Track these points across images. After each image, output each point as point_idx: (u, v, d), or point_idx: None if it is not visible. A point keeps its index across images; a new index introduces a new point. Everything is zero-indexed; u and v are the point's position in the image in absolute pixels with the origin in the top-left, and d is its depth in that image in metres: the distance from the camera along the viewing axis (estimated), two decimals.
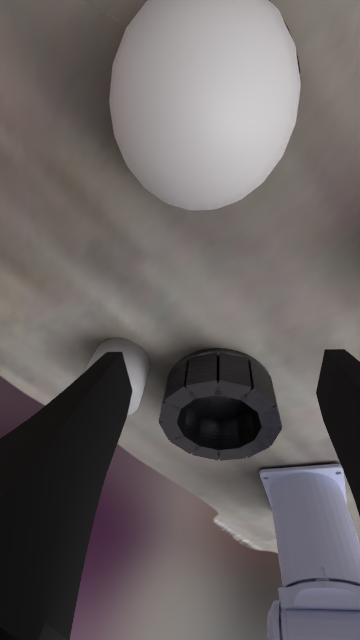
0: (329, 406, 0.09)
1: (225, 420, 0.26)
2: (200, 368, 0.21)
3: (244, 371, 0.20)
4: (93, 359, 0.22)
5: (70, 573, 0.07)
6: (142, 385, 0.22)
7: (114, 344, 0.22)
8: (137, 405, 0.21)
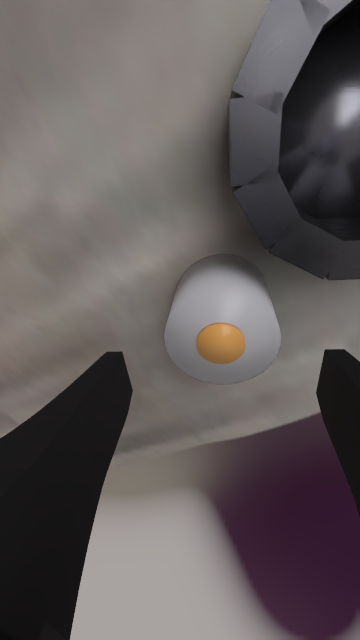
0: (329, 406, 0.09)
1: None
2: (229, 148, 0.10)
3: None
4: None
5: (70, 573, 0.07)
6: (232, 279, 0.12)
7: None
8: (256, 302, 0.11)
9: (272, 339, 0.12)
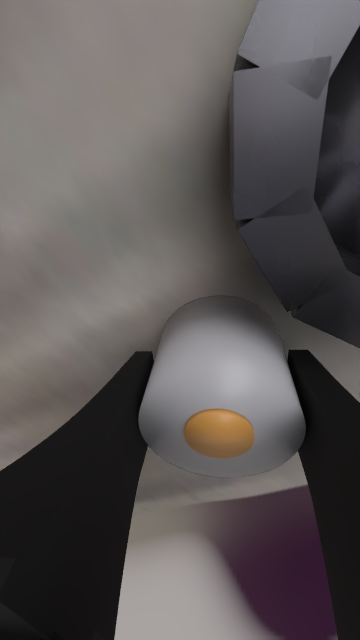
0: None
1: None
2: (231, 157, 0.06)
3: None
4: None
5: (113, 578, 0.07)
6: (235, 344, 0.08)
7: None
8: (271, 386, 0.07)
9: (293, 431, 0.08)
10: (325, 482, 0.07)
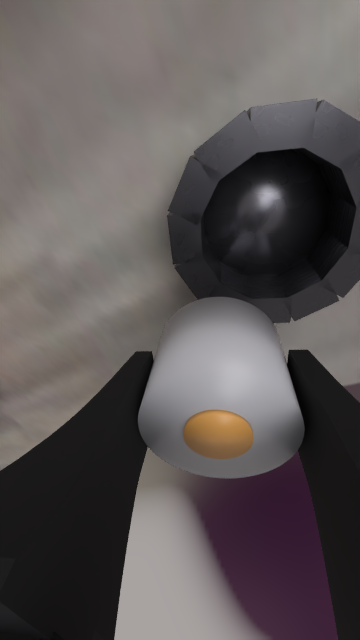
0: None
1: (328, 218, 0.14)
2: None
3: None
4: None
5: (113, 578, 0.07)
6: (235, 346, 0.08)
7: None
8: (270, 388, 0.07)
9: (292, 432, 0.08)
10: (325, 482, 0.07)
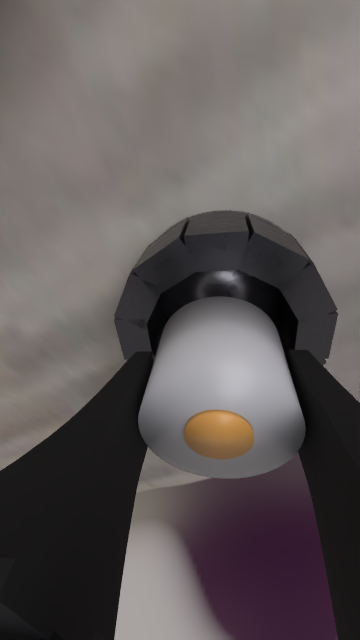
0: None
1: (282, 308, 0.14)
2: None
3: None
4: None
5: (113, 578, 0.07)
6: (236, 345, 0.08)
7: None
8: (272, 388, 0.07)
9: (293, 433, 0.08)
10: (325, 482, 0.07)
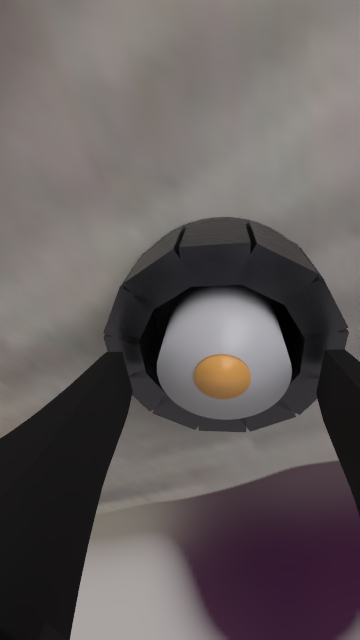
0: (329, 406, 0.09)
1: (286, 321, 0.13)
2: None
3: None
4: None
5: (70, 573, 0.07)
6: (236, 303, 0.10)
7: None
8: (264, 333, 0.09)
9: (281, 373, 0.10)
10: None
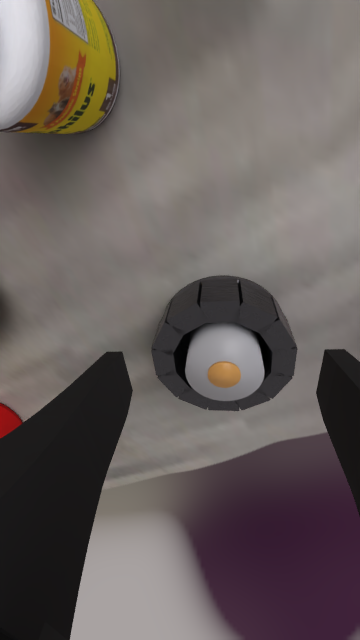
0: (329, 406, 0.09)
1: None
2: None
3: (165, 314, 0.19)
4: None
5: (70, 573, 0.07)
6: (232, 332, 0.17)
7: (190, 336, 0.20)
8: (247, 350, 0.16)
9: (258, 372, 0.17)
10: None
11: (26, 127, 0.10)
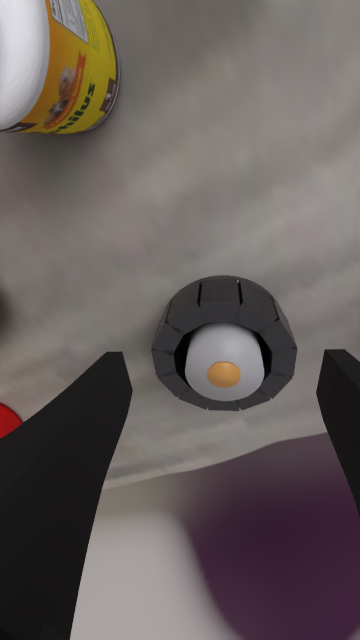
0: (329, 406, 0.09)
1: None
2: None
3: (165, 314, 0.19)
4: None
5: (70, 573, 0.07)
6: (232, 332, 0.17)
7: (190, 336, 0.20)
8: (247, 350, 0.16)
9: (258, 372, 0.17)
10: None
11: (26, 127, 0.10)
